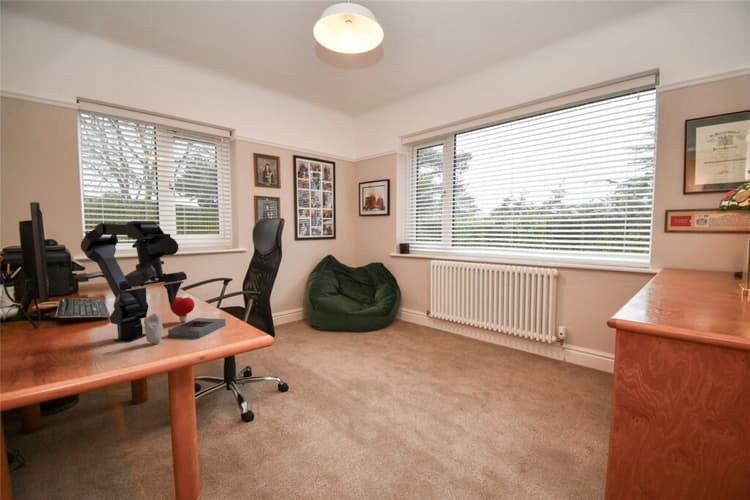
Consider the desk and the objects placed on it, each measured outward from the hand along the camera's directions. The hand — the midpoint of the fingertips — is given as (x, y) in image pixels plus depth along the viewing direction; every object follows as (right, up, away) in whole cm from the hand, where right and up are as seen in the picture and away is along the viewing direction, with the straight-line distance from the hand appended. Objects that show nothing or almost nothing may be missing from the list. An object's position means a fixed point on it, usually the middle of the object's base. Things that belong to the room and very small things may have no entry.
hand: (158, 307), depth 101 cm
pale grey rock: (-1, -12, +1) cm, 12 cm away
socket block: (+6, -11, +13) cm, 18 cm away
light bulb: (-6, -11, +24) cm, 27 cm away
